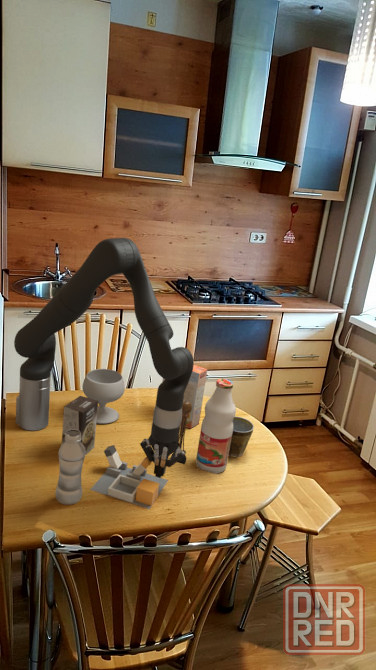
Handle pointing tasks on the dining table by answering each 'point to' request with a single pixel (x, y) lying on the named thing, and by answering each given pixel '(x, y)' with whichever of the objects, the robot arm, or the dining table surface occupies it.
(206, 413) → the fruit juice
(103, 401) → the chalice
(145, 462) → the block
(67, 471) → the plastic bottle
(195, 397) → the cracker box
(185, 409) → the wooden tabletop sculpture
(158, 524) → the dining table surface
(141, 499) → the orange cube
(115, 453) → the breaker
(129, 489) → the panel
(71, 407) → the coffee box
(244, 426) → the ceramic cup
